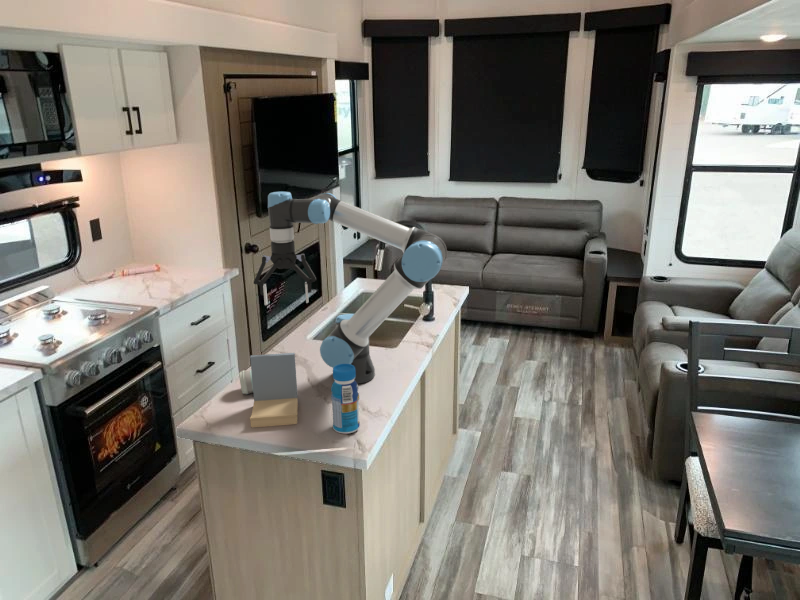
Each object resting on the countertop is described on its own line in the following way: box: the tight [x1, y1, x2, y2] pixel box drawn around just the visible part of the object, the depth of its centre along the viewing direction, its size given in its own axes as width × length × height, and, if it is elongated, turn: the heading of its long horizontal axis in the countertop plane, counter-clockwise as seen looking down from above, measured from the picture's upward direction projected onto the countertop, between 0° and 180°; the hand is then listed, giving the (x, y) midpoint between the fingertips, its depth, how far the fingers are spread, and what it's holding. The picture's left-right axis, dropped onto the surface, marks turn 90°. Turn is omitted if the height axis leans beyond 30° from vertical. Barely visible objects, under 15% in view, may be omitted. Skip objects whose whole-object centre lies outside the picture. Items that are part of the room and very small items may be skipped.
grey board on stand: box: [249, 352, 299, 429], centre depth 186 cm, size 14×15×18 cm
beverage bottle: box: [330, 364, 361, 435], centre depth 178 cm, size 8×8×20 cm
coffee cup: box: [238, 369, 253, 395], centre depth 204 cm, size 8×8×12 cm
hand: (286, 302), depth 197 cm, fingers open, 13 cm apart
